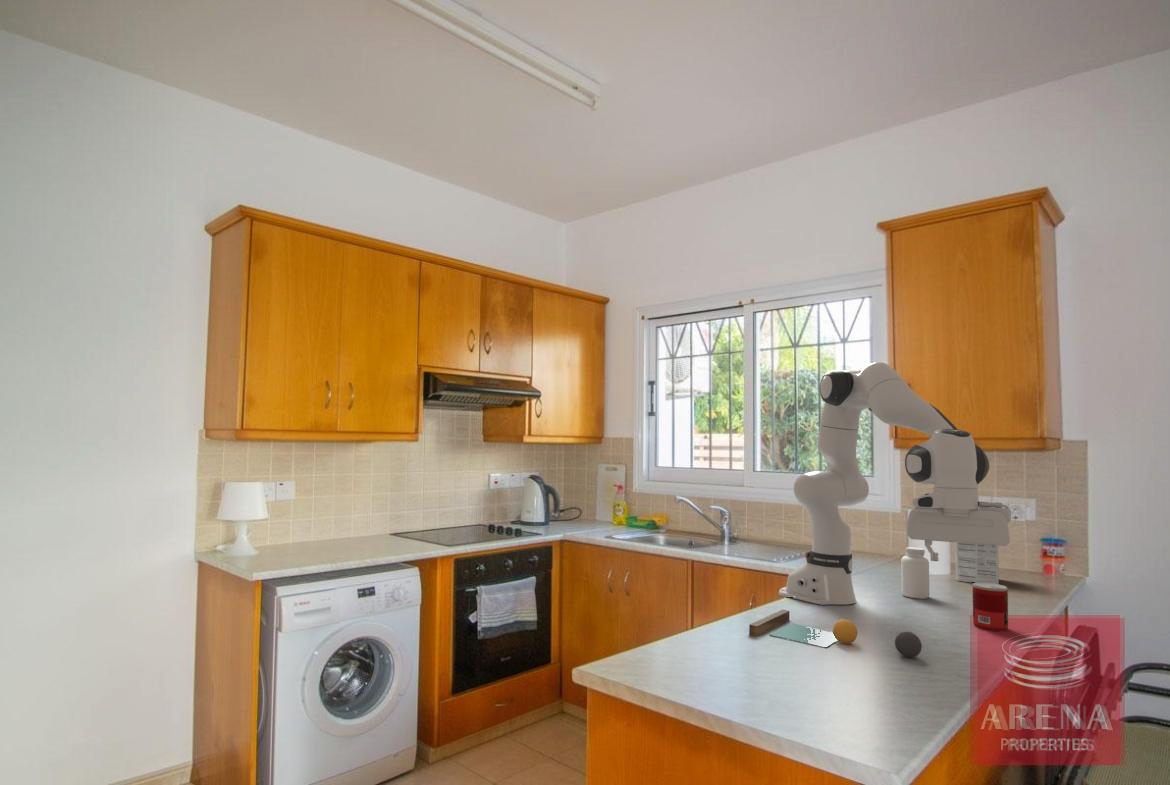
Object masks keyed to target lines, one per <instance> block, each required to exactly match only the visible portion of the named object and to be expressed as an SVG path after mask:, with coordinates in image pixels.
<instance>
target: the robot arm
mask: <svg viewBox="0 0 1170 785" xmlns="http://www.w3.org/2000/svg"><path fill="white" fill-rule="evenodd" d="M819 394H820V398H821V399H822V400H823V402H824V405H823V408H822V413H821V417H820V422H819V423H820V424H819V432H818V440H817V451H818V453H819V454H820V455H821V456H823V457H824V459H825V462H826V470H813V471H810V472H805V473H803V474H800V475H798V477H796V479H795V481H794V483H793V484H794V485H793V493H794V496H795V498H796V500H797V501H798V502H799V503H800V504H801V505H802V506H803V508H804V509H805V511H806V513H807V515H808V518H809V521H810V525H811V535H812V536H811V540H812V545H811V546H812V548H811V549H810V550H809V551H808V552H806V553H804V558H806V562H805V563H803V564H801V565H800V566H799V567H797V568H796V569H794V570H792V571H791V572H790V573H789V574H788V577H787V580H786V586H784V587H781V588H780V589H779V591H778V594H779V596H783V597H788V598H790V597H793V598H792V599H795V600H798V601H799V600H800V601H804V602H808V603H812V604H816V605H817V604H818V605H820V606H821V605H822V606H823V605H824V606H825V605H827V606H828V605H851V604H856V603H857V599H856V594H855V592H854V591H855V590H854V585H853V578H852V577H853V576H852V573H853V569H854V568H853V565H854V563H853V553H851V546H852V544H851V543H852V542H851V536H852V535H851V528H850V526H849V524H848V523H846V522H845V521H844V520H843V519H842V517H841V515H840V511H839V508H840V507H852V506H855V505H859V504H861V503H863V502H864V501H866V499H867V498H868V497H869V496H868V495H869V491H870V490H869V484H868V481H867V479H866V478H865V477H864V476H863V475H862V472H861V471H860V469H859V464H858V460H857V459H858V458H857V447H858V436H859V435H858V434H859V428H860V416H861V413H862V411H864V410H866V409H868V410H869V412H872V413H873V414H874V416H876V418H877V419H879V420H880V421H881V422H883V423H885V424H887V425H890V426H894V427H895V426H896V427H901V428H907V429H910V430H913V431H914V430H915V431H918V432H921V433H923V434H926V435H928V436H929V437H930V438H929V439H928V440H926V441H924V442H922V443H920V444H915V445H913V446H912V447H910V449H909V450H908V451H907V453H906V454H905V459H904V467H905V471H906V473H907V475H908V476H909V477H910V479H911V480H912V481H914V482H915V483H919V484H923V485H933V491H932V492H931V493H930V492H929V493H925V494H922V495H919V496H915V497H913V498H912V501H911V503H912V506H913V507H914V508H912V509H911V510H910V511H909V514H908V516H907V517H908V518H907V527H906V528H907V529H906V534H907V536H908V537H909V539H911V540H918V541H924V546H925V548H926V550H927V551H928V553H929V555H930V561H931V562H939V552H935V551H934V549H933V547H932V545H933V542H945V543H947V542H948V543H956V542H957V543H971V544H984V549H985V550H987V551H986V552H985V554H984V555H983V556H979V557H978V560H979V565H985V566H986V565H987V561H986V558H987V556H988V555H989V553H990V552H991V550H992V545H998V547H999V546H1000V547H1001V546H1002V547H1006V546H1008V545H1009V544H1010V543H1011V536H1010V529H1009V523H1010V522H1011V521H1012V512H1011V509H1010V507H1009V506H1007V504H1003V503H1002V502H988V501H979V486H978V485H979V484H980V483H981V482H982V481H983V480H985V478H986V477H987V475H988V473H989V471H990V461H989V458H988V456H987V454H986V453H985V451H984V450H983V449H982V447H980V446H979V445H978V444H976V443H975V441H974V437H973V435H972V434H971V433H970V432H969V431H966V430H962V429H958V428H957V427H956V426H955V424H953V423H952V422H951V421H950V420H949V419H948V417H946V415H945V414H943V413H942V411H940V410H939V409H938V408H937V407H935V406H934V405H932V403H929V402H928V401H926V400H925V399H923V398H921V397H920V396H919V394H917V393H916V392H915V391H914V390H912V389H911V388H910V387H909V385H908V384H907V383H906V381H905V380H904V378H903V377H902V375H900V374H899V373H898V372H897V371H896V370H895V369H894V368H893V367H892V366H890V365H889V364H887V363H885V362H878V361H877V362H873V363H869V364H868V365H865V367H864V368H863V369H860V370H843V369H835V370H834V369H833V370H829V371H827V372H825V374H824V375H823V376H822V377H821V380H820V384H819ZM794 596H795V597H794Z"/></svg>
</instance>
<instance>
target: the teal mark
mask: <svg viewBox="0 0 1170 785" xmlns="http://www.w3.org/2000/svg"><path fill="white" fill-rule="evenodd" d="M806 627H809V626H807V625H802V624H797V623H790V624H788V625H786V626H783V628H780V629H779V630H776V631H774V632H773V633H770V634H769V636H770V637H773V638H774V637H775V638H778V637H779V639H783V638H784V640H787V639H789V640H788V641H792V640H794V641H793V642H796V641H799V642H798V643H801V641H802V642H804V643H803V644H805V643H808V640H807V638H810V639H809V640H811V637H813V638H812V639H814V640H816V639H815V638H816V637H820V636H816V637H815V635H817V634H815V629H813V628H814V627H812V629H813V633H812V634H814V635H813V636H811V635H807V634H811V630H810V628H806ZM820 632H821V630H820ZM818 634H820V633H818ZM804 639H805V640H804Z"/></svg>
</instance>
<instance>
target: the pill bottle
mask: <svg viewBox="0 0 1170 785" xmlns="http://www.w3.org/2000/svg"><path fill="white" fill-rule="evenodd" d="M925 552H926V551H925V549H924V548H922V547H917V546H914V547H913V546H907V547H906V548H905V555H903V556H902V557H901V559H900V561H901V562H900V566H901V567H900V572H901V573H900V574H901V576H900V579H901V582H900V583H901V586H900V587H901V588H900V589H901V595H902V596H904V597H906V598H911V599H919V600H921V599H922V600H923V599H924V600H925V599H929V598H930V562H929V560H928V558H926V557H925Z"/></svg>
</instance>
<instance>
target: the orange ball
mask: <svg viewBox="0 0 1170 785" xmlns="http://www.w3.org/2000/svg"><path fill="white" fill-rule="evenodd" d="M832 632H833V634H834V636H835V638H836V639H837V640H838V641H837V642H839V643H841V644H844V643H845V644H846V645H849V644H852V643H854V642H855V641H857V638H858V629H857V626H856V625H855V624H854V623H853V622H852V621H850V620H848V619H840V620H838V621H837V622H835V623H834V624H833V628H832ZM845 644H844V645H845Z"/></svg>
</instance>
